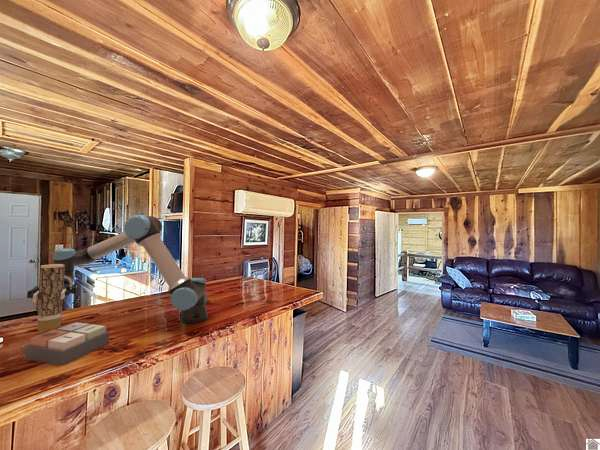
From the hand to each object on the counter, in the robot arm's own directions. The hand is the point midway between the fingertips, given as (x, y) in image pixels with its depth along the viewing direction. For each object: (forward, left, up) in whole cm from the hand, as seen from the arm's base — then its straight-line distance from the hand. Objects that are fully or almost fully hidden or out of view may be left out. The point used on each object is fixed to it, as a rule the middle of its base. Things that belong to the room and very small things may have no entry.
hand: (48, 297), depth 93 cm
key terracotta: (+3, -3, -19) cm, 20 cm away
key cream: (-5, -3, -19) cm, 20 cm away
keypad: (-1, -8, -24) cm, 25 cm away
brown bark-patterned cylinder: (+4, -3, -14) cm, 15 cm away
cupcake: (-15, -81, -24) cm, 86 cm away
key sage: (-5, -12, -19) cm, 23 cm away
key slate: (+3, -12, -19) cm, 23 cm away
